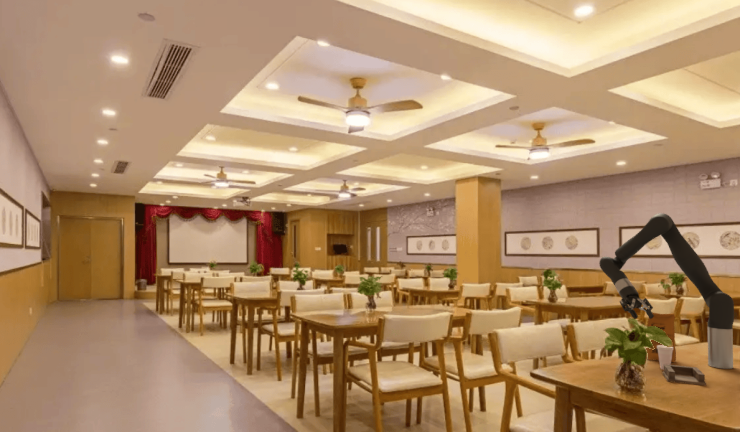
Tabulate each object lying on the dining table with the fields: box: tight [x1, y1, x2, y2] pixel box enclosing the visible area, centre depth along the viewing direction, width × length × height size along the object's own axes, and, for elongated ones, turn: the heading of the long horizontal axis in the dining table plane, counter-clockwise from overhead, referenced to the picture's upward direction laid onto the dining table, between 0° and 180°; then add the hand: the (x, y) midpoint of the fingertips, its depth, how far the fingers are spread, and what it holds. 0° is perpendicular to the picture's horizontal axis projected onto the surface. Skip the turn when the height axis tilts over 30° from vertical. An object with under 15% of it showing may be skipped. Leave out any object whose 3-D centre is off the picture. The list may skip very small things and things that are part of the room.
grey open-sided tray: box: [661, 364, 707, 386], centre depth 203 cm, size 13×13×4 cm
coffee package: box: [645, 311, 677, 363], centre depth 237 cm, size 10×12×22 cm
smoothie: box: [657, 345, 674, 371], centre depth 219 cm, size 6×6×14 cm
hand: (644, 317), depth 231 cm, fingers open, 8 cm apart
